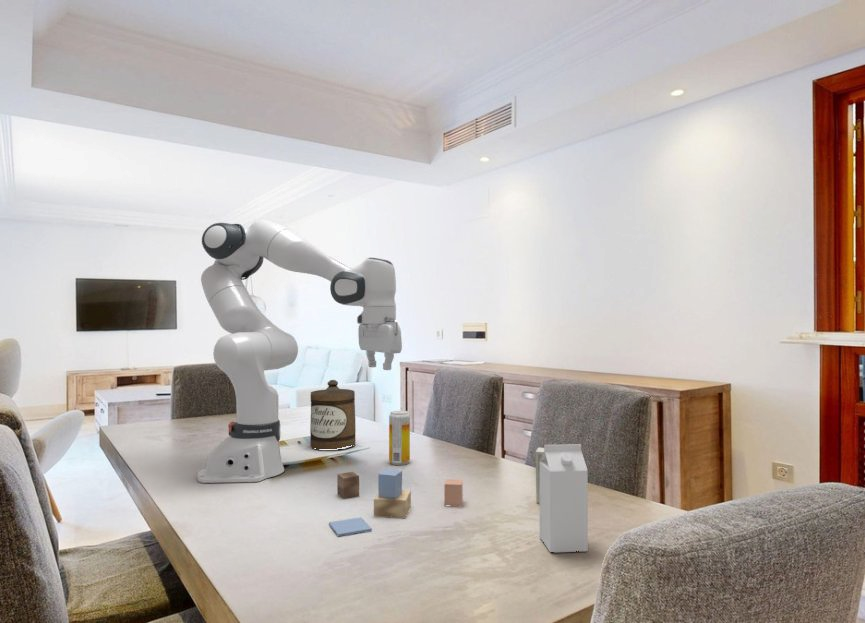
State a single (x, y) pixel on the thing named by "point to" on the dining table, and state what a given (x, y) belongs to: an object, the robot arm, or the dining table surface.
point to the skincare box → (538, 472)
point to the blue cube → (390, 484)
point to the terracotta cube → (453, 492)
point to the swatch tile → (349, 526)
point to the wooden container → (332, 417)
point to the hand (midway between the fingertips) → (379, 368)
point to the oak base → (393, 505)
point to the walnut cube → (348, 485)
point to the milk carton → (564, 498)
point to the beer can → (399, 437)
